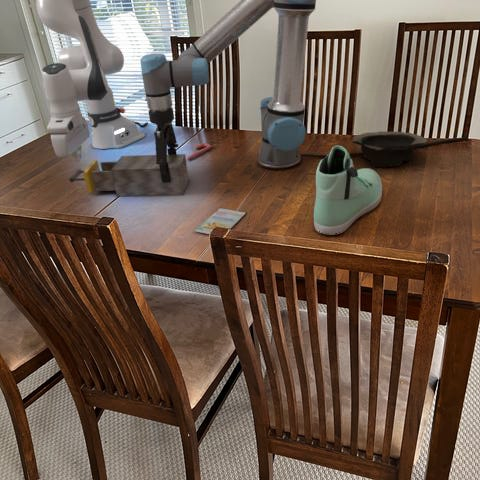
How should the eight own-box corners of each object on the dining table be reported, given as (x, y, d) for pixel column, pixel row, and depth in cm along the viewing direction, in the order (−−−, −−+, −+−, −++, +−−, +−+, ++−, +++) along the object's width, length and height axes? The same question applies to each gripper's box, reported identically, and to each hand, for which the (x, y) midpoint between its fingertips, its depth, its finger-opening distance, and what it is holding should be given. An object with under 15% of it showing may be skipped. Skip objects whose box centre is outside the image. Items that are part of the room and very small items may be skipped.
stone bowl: (385, 177, 154) (386, 150, 149) (337, 159, 174) (336, 134, 170) (441, 159, 162) (444, 132, 158) (389, 143, 183) (390, 119, 178)
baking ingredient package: (194, 230, 133) (219, 207, 144) (194, 231, 133) (219, 208, 144) (222, 235, 129) (246, 211, 141) (222, 237, 129) (246, 213, 141)
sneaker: (389, 187, 148) (396, 123, 138) (356, 242, 123) (361, 168, 112) (346, 181, 154) (350, 119, 144) (306, 232, 129) (307, 161, 118)
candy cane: (177, 158, 182) (177, 154, 181) (202, 145, 192) (201, 141, 191) (189, 161, 179) (189, 157, 178) (214, 147, 189) (213, 144, 188)
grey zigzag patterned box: (116, 196, 157) (110, 169, 152) (126, 181, 167) (121, 156, 162) (182, 194, 155) (178, 167, 150) (188, 179, 164) (185, 154, 159)
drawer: (70, 193, 159) (64, 173, 155) (81, 180, 167) (76, 160, 164) (149, 192, 156) (145, 170, 152) (156, 178, 165) (153, 158, 161)
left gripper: (70, 109, 160) (80, 149, 167) (44, 130, 142) (56, 173, 149) (88, 108, 159) (98, 148, 166) (64, 129, 142) (76, 172, 149)
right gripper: (157, 98, 157) (167, 160, 168) (138, 121, 136) (150, 190, 148) (179, 97, 156) (188, 159, 167) (163, 120, 136) (174, 189, 147)
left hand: (78, 160), depth 158 cm, fingers closed
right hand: (170, 174), depth 157 cm, fingers closed on grey zigzag patterned box, 11 cm apart
